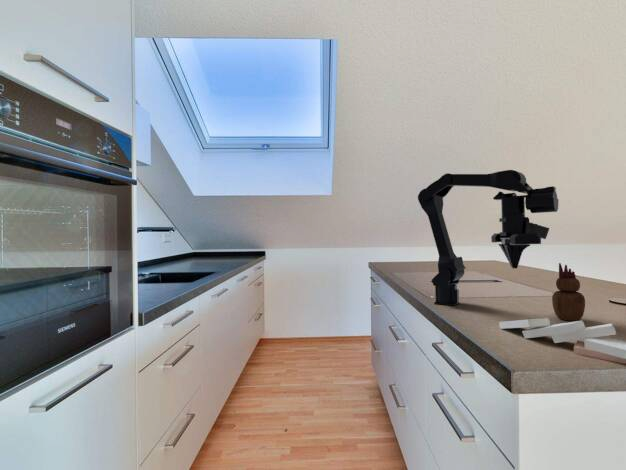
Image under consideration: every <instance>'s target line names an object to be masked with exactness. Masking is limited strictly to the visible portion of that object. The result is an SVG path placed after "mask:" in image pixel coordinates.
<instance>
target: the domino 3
mask: <svg viewBox="0 0 626 470" xmlns="http://www.w3.org/2000/svg"><path fill="white" fill-rule="evenodd" d="M612 335H613V336H614V335H617V331H616V328H615V326H614V325H613V323H606V324H600V325H594V326H593V325H592V326H589V327H587V326H586V328H585V329H583V330H580V331H577V332H573V333H565V334H557V335H550V336H551V338H552V341H553V342H554V344H557V343H558V344H559V343H566V342H572V341H573V342H574V341H582V340H585V339H589V338H594V337H601V336H603V337H608V336H612Z"/></svg>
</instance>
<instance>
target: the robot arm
mask: <svg viewBox="0 0 626 470" xmlns="http://www.w3.org/2000/svg"><path fill="white" fill-rule="evenodd" d="M454 187H485V188H494V189H499V190H503V191H507V193H504V192H503V191H498V193H497V194H496V195H495V196H494V197H493V198H492V199H493V200H495V201H501V218H499V219H498V220H499V223H501V231H500V232H499V233H493V234H492V235H491V237H490V238H491V239H490V240H491V243H498V246H499V247H500V249H501V250H502V252H503V254H504V255H505V258H506V259H507V261H508V263H509V265H510V267H511V269H518V267H519V264H520V261H521V256H522V254H523V251H525V250H526V249H527V248H528V247H530V246H531V245H541V244H542V239H543V240H546V239H547V236H548V234H549V231H550V228H549V227H548V226H547V227H546V226H543V225H539V224H537V223H533V222H530V217H528V216H526V210H527V211H530V213H531V214H541V213H543V214H544V213H557V212H558V210H559V198H558V194H557V187H556V186H553V185H552V186H546V187H541V188H533V187H532V186H530V185H529V184H528V182H527V178H526V176H525V174H523V173H522V172H520V171H517V170H514V169H506V170H500V171H495V172H491V173H448V172H447V173H444V174H443V175H441V176H440V178H438V179H437V180H435V181H433V182H432V183H430V184H429V185H428V186H427V187H426V188H423V189H421V190H420V191H419V193H418V195H417V200H418V203H419V205H420V208H421V210H423V211H424V212H425V214H426V215H427V217H428V221H429V225H430V228H431V232H432V234H433V239H434V242H435V247H436V249H437V253H438V260H437V261H438V262H437V269H438V273H437V274H435V276H434V277H433V278H432V279H431V282H432V286H434V288H435V292H434V293H435V301H434V302H433V303H434V304H435V305H443V306H445V305H446V306H456V305H457V304H458V303H460V290H459V288H458V284H459V282H460V279H462V278H463V276H464V275H465V270H466V269H467V268H466V266H465V265H464V261H463V257H462V256H457V255H456V254H455V252H454V249H453V245H452V242H451V239H450V236H449V235H450V234H449V232H448V227H447V224H446V220H445V218H444V214H443V209H444V208H443V207H444V198H445V197H446V196H447V195H448V194H449V192H450V191H451V190H452V188H454ZM508 191H509V192H508ZM516 192H517V193H521V194H524V195H517V193H516Z"/></svg>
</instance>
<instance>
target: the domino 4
mask: <svg viewBox="0 0 626 470" xmlns="http://www.w3.org/2000/svg"><path fill="white" fill-rule="evenodd" d="M573 354H575V355H580V356H586V357H589V358H593V359H594V358H595V359H600V360H604V361H609V362H614V363H620V364H625V365H626V359H624V358H620V357H616V356H613V355H609V354H605V353H601V352H598V351H594V350H591V349H587V348H585V343H584V341H582V340H576V343H575V344H574V346H573Z"/></svg>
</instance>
